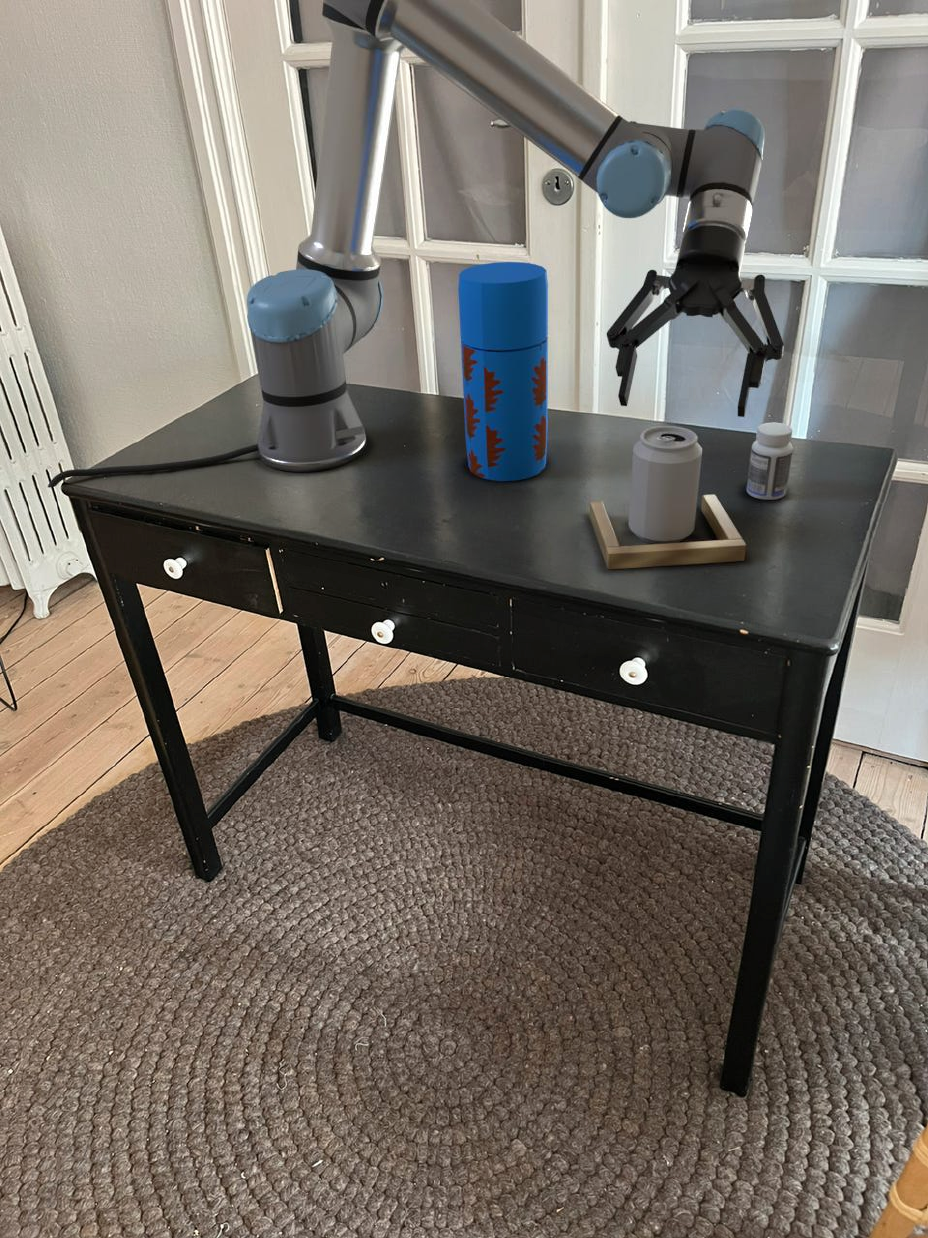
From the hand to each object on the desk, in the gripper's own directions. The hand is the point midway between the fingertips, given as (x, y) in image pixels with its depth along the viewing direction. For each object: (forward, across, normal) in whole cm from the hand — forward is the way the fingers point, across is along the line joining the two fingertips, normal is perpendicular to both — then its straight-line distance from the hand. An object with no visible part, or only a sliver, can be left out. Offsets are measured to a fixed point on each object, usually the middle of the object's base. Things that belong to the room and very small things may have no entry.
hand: (680, 406), depth 106 cm
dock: (+15, 0, +2) cm, 15 cm away
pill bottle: (+5, +11, +12) cm, 17 cm away
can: (+15, 0, +3) cm, 15 cm away
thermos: (+5, -23, +12) cm, 27 cm away
